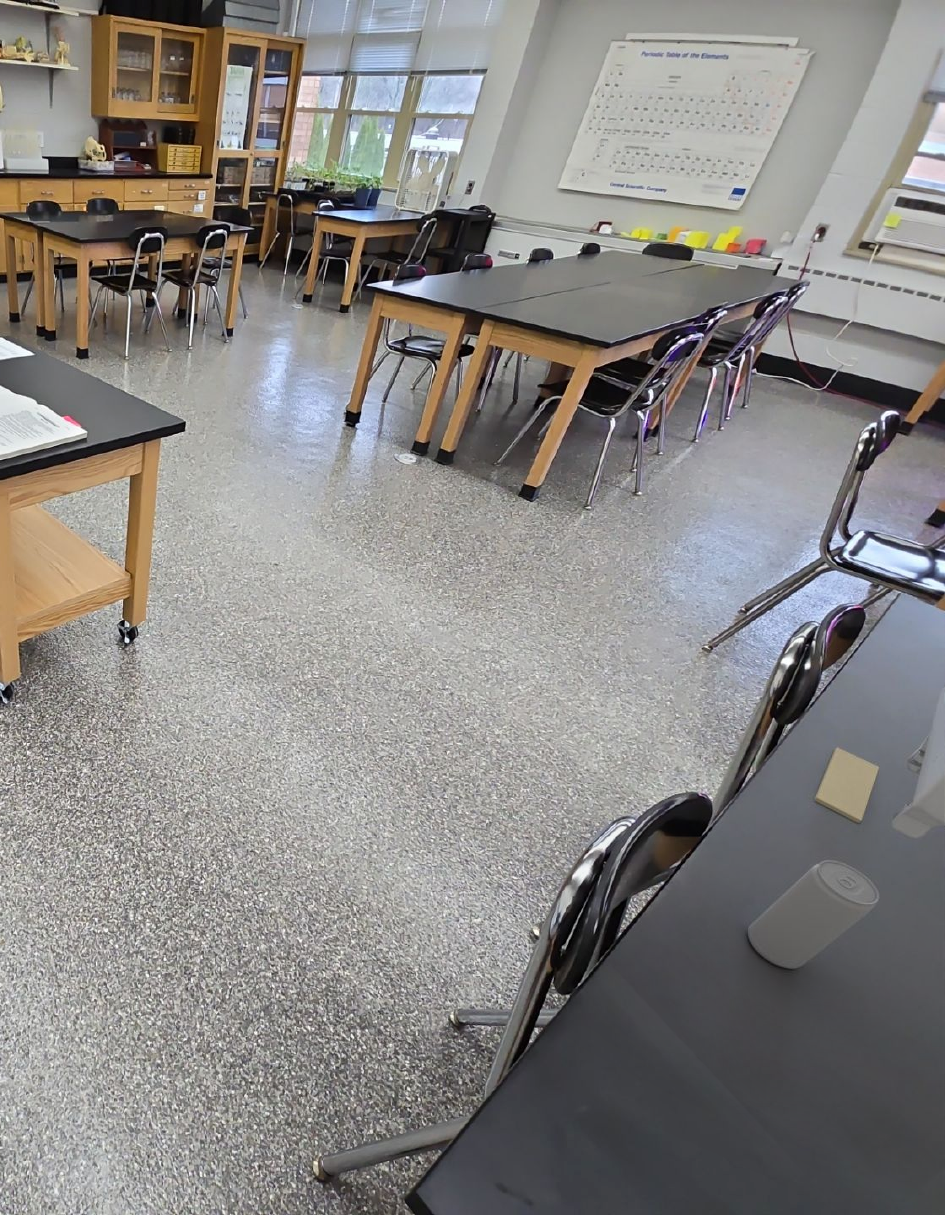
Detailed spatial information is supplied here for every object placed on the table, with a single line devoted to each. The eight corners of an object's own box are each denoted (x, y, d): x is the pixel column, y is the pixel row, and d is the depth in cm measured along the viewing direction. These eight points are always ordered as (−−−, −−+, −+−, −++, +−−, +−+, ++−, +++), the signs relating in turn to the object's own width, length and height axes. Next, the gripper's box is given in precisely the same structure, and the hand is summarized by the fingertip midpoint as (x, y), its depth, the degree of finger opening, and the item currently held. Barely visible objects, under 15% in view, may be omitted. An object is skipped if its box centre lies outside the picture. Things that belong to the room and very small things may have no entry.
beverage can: (734, 935, 74) (804, 868, 67) (763, 919, 76) (835, 852, 69) (782, 978, 71) (862, 913, 64) (811, 961, 73) (893, 895, 65)
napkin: (834, 750, 97) (837, 747, 96) (876, 770, 94) (879, 767, 94) (813, 800, 89) (816, 797, 89) (858, 823, 87) (861, 820, 86)
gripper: (1109, 775, 45) (948, 897, 53) (1102, 643, 56) (970, 761, 65) (975, 719, 48) (843, 841, 57) (994, 606, 60) (882, 721, 68)
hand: (911, 797), depth 61 cm, fingers open, 8 cm apart
